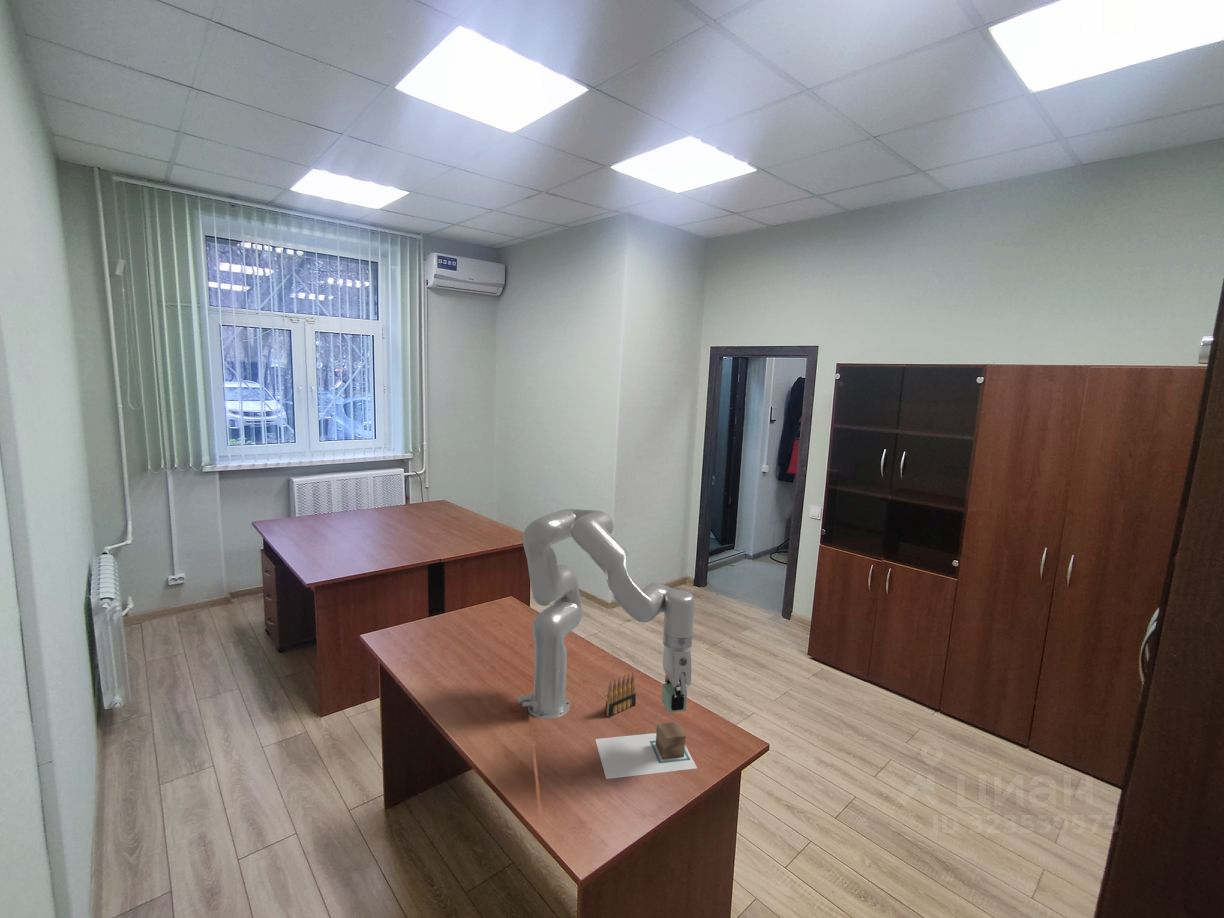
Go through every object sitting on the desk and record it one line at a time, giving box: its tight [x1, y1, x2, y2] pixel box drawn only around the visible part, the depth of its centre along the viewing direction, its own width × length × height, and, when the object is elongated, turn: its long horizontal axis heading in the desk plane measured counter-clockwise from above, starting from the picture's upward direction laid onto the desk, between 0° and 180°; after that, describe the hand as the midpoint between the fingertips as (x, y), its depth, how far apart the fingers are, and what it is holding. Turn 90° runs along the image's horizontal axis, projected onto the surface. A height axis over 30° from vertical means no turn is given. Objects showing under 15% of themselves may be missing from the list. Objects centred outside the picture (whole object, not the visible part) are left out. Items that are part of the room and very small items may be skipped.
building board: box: [595, 732, 698, 780], centre depth 141 cm, size 24×15×1 cm, turn 102°
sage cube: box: [661, 682, 688, 713], centre depth 140 cm, size 5×5×5 cm
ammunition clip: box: [604, 670, 637, 718], centre depth 158 cm, size 11×2×12 cm, turn 129°
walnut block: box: [655, 721, 686, 760], centre depth 142 cm, size 6×6×6 cm
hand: (673, 702), depth 140 cm, fingers closed on sage cube, 4 cm apart
